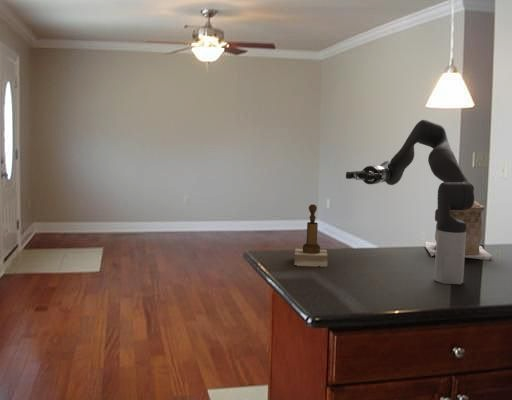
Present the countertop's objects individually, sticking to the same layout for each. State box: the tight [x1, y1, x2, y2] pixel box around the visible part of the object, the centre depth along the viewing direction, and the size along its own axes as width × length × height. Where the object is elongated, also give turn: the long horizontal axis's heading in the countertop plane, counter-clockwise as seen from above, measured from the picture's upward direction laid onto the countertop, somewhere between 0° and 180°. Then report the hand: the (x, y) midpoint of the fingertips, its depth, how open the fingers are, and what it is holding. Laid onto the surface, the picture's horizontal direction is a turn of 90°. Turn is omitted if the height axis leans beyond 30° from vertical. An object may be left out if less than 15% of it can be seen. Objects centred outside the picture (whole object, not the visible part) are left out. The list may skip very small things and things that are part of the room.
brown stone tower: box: [424, 183, 493, 261], centre depth 241 cm, size 25×25×32 cm
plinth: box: [293, 247, 329, 268], centre depth 218 cm, size 12×12×4 cm
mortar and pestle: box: [302, 204, 321, 254], centre depth 217 cm, size 7×6×18 cm
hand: (357, 176), depth 225 cm, fingers open, 8 cm apart
